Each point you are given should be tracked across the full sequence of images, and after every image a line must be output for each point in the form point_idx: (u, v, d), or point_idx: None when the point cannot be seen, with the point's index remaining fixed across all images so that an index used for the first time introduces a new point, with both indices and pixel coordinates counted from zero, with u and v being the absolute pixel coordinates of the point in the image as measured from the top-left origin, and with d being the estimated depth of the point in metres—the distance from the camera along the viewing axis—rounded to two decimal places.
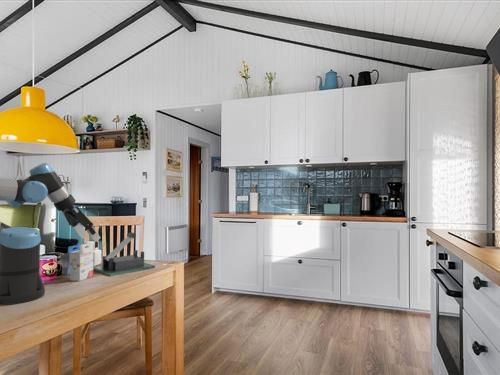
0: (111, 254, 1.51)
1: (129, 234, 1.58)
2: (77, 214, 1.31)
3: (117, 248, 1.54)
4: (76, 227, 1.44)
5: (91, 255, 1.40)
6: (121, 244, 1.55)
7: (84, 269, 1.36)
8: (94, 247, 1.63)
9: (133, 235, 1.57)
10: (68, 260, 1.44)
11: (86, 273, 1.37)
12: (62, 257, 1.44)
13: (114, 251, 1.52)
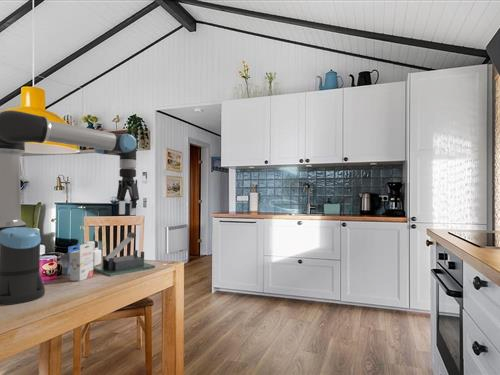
0: (111, 254, 1.51)
1: (129, 234, 1.58)
2: (133, 185, 1.53)
3: (117, 248, 1.54)
4: (121, 202, 1.61)
5: (91, 255, 1.40)
6: (121, 244, 1.55)
7: (84, 269, 1.36)
8: (94, 247, 1.63)
9: (133, 235, 1.57)
10: (68, 260, 1.44)
11: (86, 273, 1.37)
12: (62, 257, 1.44)
13: (114, 251, 1.52)
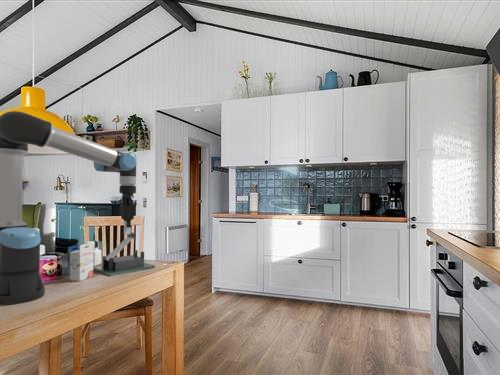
0: (111, 254, 1.51)
1: (129, 234, 1.58)
2: (131, 205, 1.54)
3: (117, 248, 1.54)
4: None
5: (91, 255, 1.40)
6: (121, 244, 1.55)
7: (84, 269, 1.36)
8: (94, 247, 1.63)
9: (133, 235, 1.57)
10: (68, 260, 1.44)
11: (86, 273, 1.37)
12: (62, 257, 1.44)
13: (114, 251, 1.52)
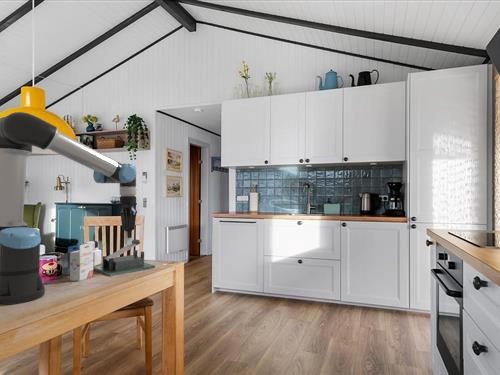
0: (112, 255, 1.52)
1: (134, 240, 1.60)
2: (132, 216, 1.54)
3: (119, 251, 1.54)
4: None
5: (91, 255, 1.40)
6: (124, 248, 1.56)
7: (84, 269, 1.36)
8: (94, 247, 1.63)
9: (137, 242, 1.59)
10: (68, 260, 1.44)
11: (86, 273, 1.37)
12: (62, 257, 1.44)
13: (116, 253, 1.53)
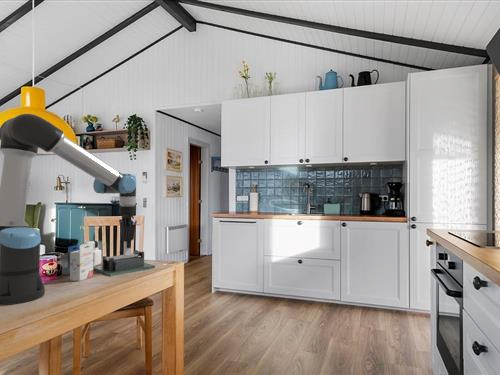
0: (113, 257, 1.52)
1: (137, 251, 1.61)
2: (131, 226, 1.53)
3: (120, 255, 1.55)
4: None
5: (91, 255, 1.40)
6: (126, 255, 1.57)
7: (84, 269, 1.36)
8: (94, 247, 1.63)
9: (140, 253, 1.60)
10: (68, 260, 1.44)
11: (86, 273, 1.37)
12: (62, 257, 1.44)
13: (117, 256, 1.53)
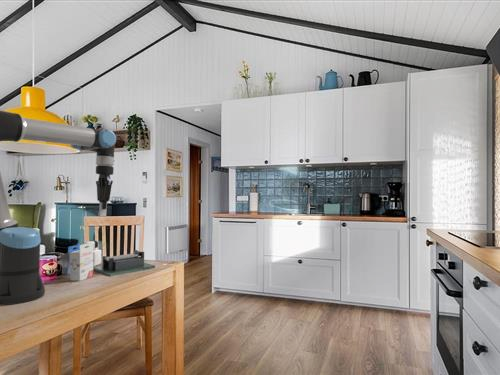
0: (113, 257, 1.52)
1: (137, 251, 1.61)
2: (107, 186, 1.48)
3: (120, 256, 1.55)
4: None
5: (91, 255, 1.40)
6: (126, 255, 1.57)
7: (84, 269, 1.36)
8: (94, 247, 1.63)
9: (140, 253, 1.60)
10: (68, 260, 1.44)
11: (86, 273, 1.37)
12: (62, 257, 1.44)
13: (117, 256, 1.53)
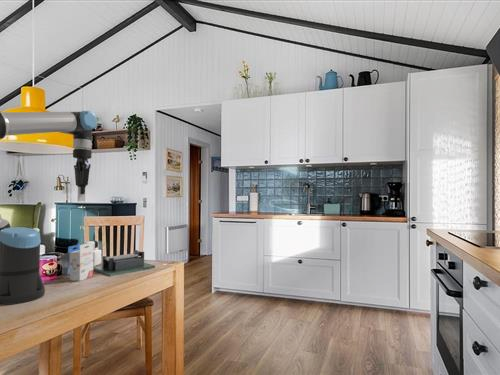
0: (113, 257, 1.52)
1: (137, 251, 1.61)
2: (85, 169, 1.44)
3: (120, 256, 1.55)
4: None
5: (91, 255, 1.40)
6: (126, 255, 1.57)
7: (84, 269, 1.36)
8: (94, 247, 1.63)
9: (140, 253, 1.60)
10: (68, 260, 1.44)
11: (86, 273, 1.37)
12: (62, 257, 1.44)
13: (117, 256, 1.53)
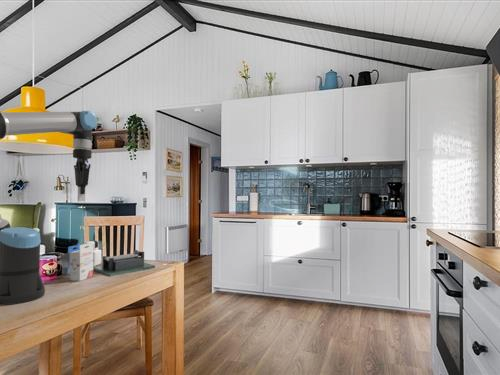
0: (113, 257, 1.52)
1: (137, 251, 1.61)
2: (85, 169, 1.44)
3: (120, 256, 1.55)
4: None
5: (91, 255, 1.40)
6: (126, 255, 1.57)
7: (84, 269, 1.36)
8: (94, 247, 1.63)
9: (140, 253, 1.60)
10: (68, 260, 1.44)
11: (86, 273, 1.37)
12: (62, 257, 1.44)
13: (117, 256, 1.53)
